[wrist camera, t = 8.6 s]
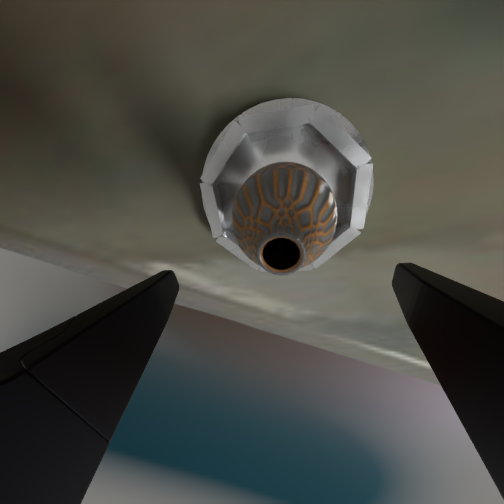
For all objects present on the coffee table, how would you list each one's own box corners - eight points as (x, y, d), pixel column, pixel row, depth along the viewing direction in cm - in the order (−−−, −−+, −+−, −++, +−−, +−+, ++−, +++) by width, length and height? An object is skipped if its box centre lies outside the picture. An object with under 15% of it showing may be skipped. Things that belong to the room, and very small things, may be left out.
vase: (313, 243, 19) (333, 318, 11) (240, 232, 19) (210, 296, 12) (337, 162, 15) (389, 192, 8) (246, 151, 15) (208, 169, 8)
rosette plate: (383, 81, 13) (400, 73, 11) (357, 261, 20) (365, 275, 18) (186, 117, 16) (172, 115, 14) (222, 266, 23) (216, 278, 21)
